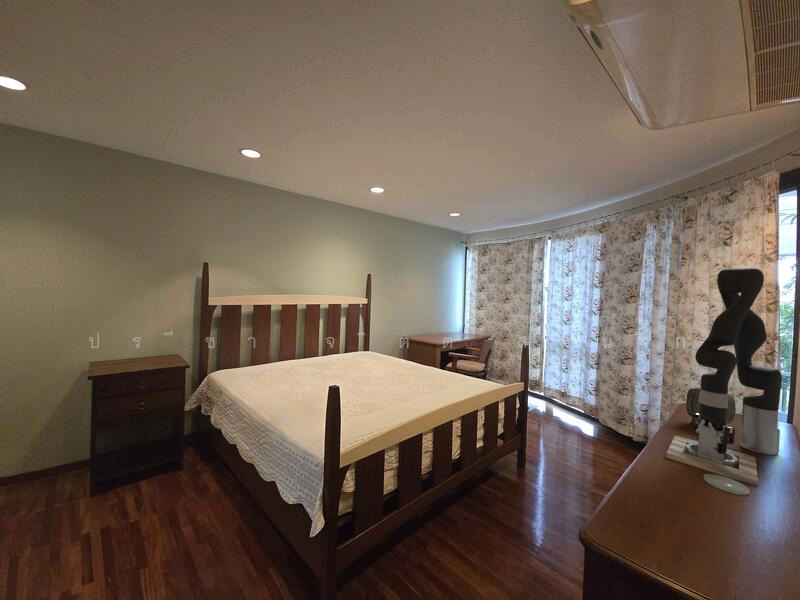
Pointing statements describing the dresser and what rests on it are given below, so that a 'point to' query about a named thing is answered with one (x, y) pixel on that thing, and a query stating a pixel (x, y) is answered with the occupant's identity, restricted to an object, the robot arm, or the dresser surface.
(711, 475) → the coaster
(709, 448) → the skincare box
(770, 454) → the robot arm
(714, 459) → the segmented octagonal ring
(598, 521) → the dresser surface
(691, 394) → the tabletop clock
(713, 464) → the striped wooden board
